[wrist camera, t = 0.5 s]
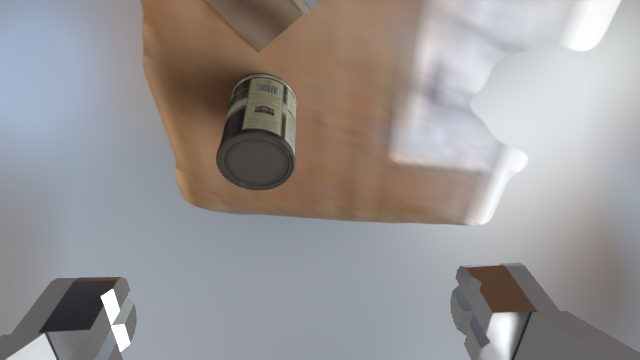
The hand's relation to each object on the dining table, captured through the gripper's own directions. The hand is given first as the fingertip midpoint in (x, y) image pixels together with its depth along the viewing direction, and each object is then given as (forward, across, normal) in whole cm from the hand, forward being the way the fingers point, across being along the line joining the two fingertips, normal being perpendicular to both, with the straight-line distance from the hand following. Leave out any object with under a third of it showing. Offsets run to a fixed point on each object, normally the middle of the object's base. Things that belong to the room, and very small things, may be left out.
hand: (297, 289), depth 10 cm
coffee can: (+53, +4, +12) cm, 55 cm away
